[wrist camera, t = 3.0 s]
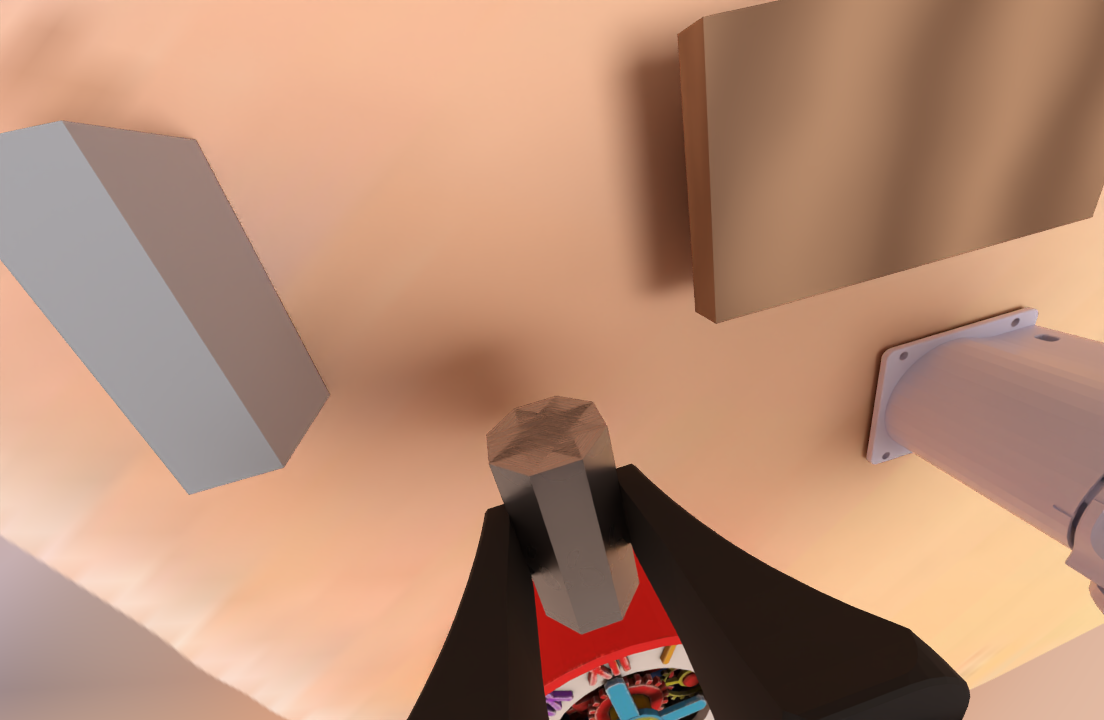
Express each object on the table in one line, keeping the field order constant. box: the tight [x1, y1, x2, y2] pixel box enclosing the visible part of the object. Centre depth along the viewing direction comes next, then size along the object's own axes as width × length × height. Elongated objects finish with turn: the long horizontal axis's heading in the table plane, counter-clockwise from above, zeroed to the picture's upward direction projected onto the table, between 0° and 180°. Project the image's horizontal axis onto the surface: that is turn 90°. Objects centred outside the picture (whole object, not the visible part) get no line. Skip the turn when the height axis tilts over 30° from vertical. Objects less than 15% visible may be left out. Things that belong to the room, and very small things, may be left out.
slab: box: [677, 0, 1104, 324], centre depth 14 cm, size 16×9×2 cm, turn 102°
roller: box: [486, 396, 639, 635], centre depth 12 cm, size 3×6×3 cm, turn 13°
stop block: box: [0, 121, 330, 495], centre depth 13 cm, size 3×10×5 cm, turn 12°
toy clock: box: [533, 548, 714, 720], centre depth 27 cm, size 20×6×20 cm
